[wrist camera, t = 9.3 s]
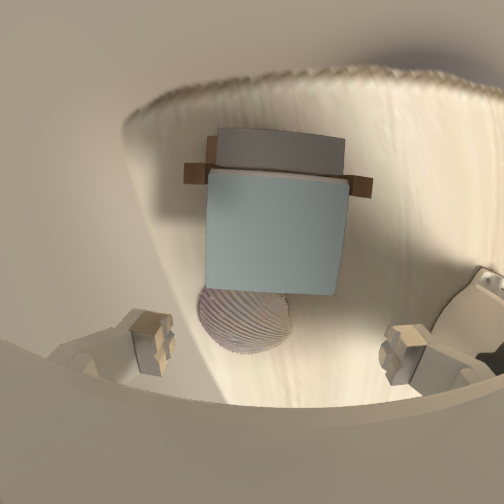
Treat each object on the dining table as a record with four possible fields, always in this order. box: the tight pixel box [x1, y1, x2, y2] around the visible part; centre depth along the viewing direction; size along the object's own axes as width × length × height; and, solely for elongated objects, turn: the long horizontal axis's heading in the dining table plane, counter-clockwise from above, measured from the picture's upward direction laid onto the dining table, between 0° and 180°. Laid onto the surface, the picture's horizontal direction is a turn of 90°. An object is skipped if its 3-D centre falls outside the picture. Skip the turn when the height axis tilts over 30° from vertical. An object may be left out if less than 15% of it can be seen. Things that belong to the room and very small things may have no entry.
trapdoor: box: [206, 128, 350, 295], centre depth 20 cm, size 9×11×5 cm
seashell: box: [198, 288, 292, 355], centre depth 28 cm, size 10×6×10 cm
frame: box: [184, 136, 373, 198], centre depth 21 cm, size 13×4×8 cm, turn 87°
